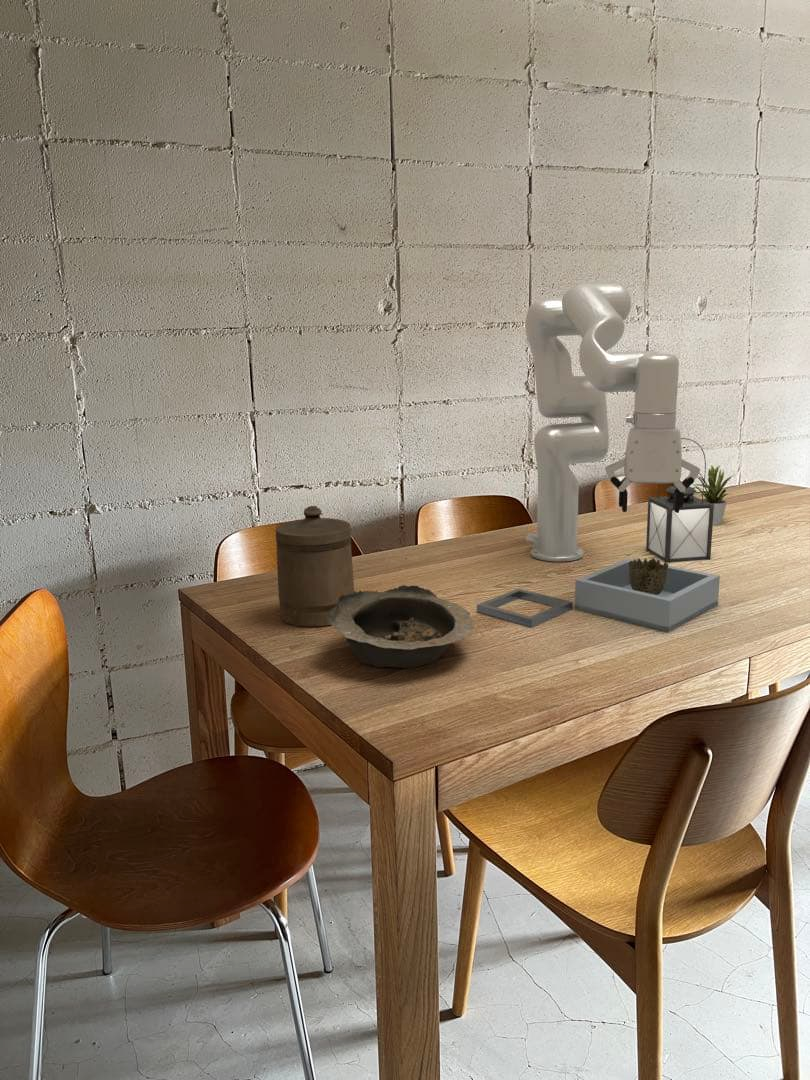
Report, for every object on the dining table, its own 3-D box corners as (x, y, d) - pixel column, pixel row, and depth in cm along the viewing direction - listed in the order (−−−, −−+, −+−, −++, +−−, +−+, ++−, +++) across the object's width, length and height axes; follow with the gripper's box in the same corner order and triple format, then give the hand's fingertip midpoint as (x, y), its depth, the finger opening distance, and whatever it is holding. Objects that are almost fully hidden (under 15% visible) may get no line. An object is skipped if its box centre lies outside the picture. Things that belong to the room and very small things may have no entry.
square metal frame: (476, 611, 167) (476, 604, 166) (518, 595, 176) (518, 588, 175) (532, 627, 157) (532, 619, 157) (572, 609, 167) (572, 601, 166)
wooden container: (349, 599, 177) (344, 496, 171) (360, 623, 163) (355, 511, 157) (277, 606, 174) (270, 502, 168) (283, 631, 160) (275, 518, 154)
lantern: (711, 560, 197) (719, 440, 190) (665, 563, 195) (672, 442, 188) (688, 548, 208) (695, 434, 201) (645, 550, 206) (650, 436, 199)
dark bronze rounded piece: (674, 604, 164) (676, 565, 162) (644, 610, 162) (645, 570, 160) (649, 593, 171) (651, 555, 169) (619, 599, 168) (620, 561, 166)
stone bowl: (341, 626, 161) (343, 579, 158) (473, 637, 158) (476, 590, 156) (315, 677, 137) (316, 623, 134) (469, 691, 135) (473, 636, 132)
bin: (574, 608, 167) (575, 579, 165) (627, 585, 180) (628, 558, 179) (668, 632, 153) (670, 601, 151) (717, 604, 167) (719, 575, 165)
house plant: (677, 516, 239) (680, 459, 235) (728, 516, 237) (732, 458, 233) (686, 528, 226) (690, 468, 222) (740, 528, 224) (745, 467, 220)
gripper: (608, 424, 155) (604, 515, 160) (706, 424, 152) (700, 516, 157) (605, 419, 162) (602, 506, 167) (699, 418, 160) (693, 507, 164)
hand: (650, 510), depth 162 cm, fingers open, 9 cm apart
